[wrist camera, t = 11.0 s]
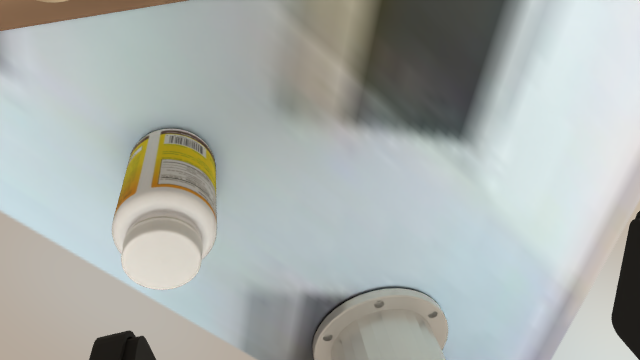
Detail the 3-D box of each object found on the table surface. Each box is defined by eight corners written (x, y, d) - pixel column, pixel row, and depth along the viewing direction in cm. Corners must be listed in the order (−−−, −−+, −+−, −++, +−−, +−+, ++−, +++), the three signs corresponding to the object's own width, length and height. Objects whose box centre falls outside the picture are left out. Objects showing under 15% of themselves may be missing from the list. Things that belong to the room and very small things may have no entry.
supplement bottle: (147, 204, 36) (126, 312, 28) (117, 135, 33) (84, 233, 24) (225, 185, 36) (229, 287, 28) (203, 116, 33) (199, 206, 25)
